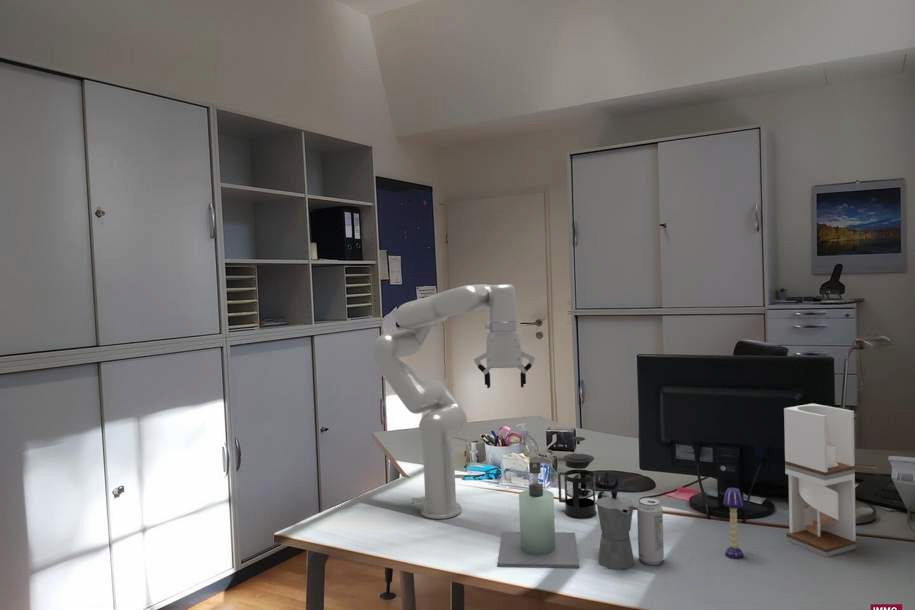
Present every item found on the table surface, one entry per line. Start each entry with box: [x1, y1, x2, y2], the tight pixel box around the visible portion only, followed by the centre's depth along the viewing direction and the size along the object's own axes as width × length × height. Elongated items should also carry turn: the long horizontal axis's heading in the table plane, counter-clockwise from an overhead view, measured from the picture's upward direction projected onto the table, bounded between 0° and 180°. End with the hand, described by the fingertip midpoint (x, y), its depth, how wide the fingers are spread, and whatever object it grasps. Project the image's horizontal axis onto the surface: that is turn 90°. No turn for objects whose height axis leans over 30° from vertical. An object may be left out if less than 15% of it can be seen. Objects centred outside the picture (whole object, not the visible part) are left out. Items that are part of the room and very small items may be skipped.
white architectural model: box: [783, 403, 857, 558], centre depth 167 cm, size 11×11×35 cm
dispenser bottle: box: [496, 482, 580, 569], centre depth 171 cm, size 20×20×17 cm
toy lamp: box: [723, 487, 744, 560], centre depth 163 cm, size 5×5×17 cm
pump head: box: [528, 456, 542, 484], centre depth 169 cm, size 3×8×6 cm, turn 172°
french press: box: [557, 436, 598, 520], centre depth 196 cm, size 12×9×23 cm
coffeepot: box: [595, 489, 636, 570], centre depth 163 cm, size 15×9×18 cm, turn 13°
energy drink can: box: [636, 497, 665, 566], centre depth 162 cm, size 6×6×15 cm
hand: (505, 387), depth 187 cm, fingers open, 9 cm apart
